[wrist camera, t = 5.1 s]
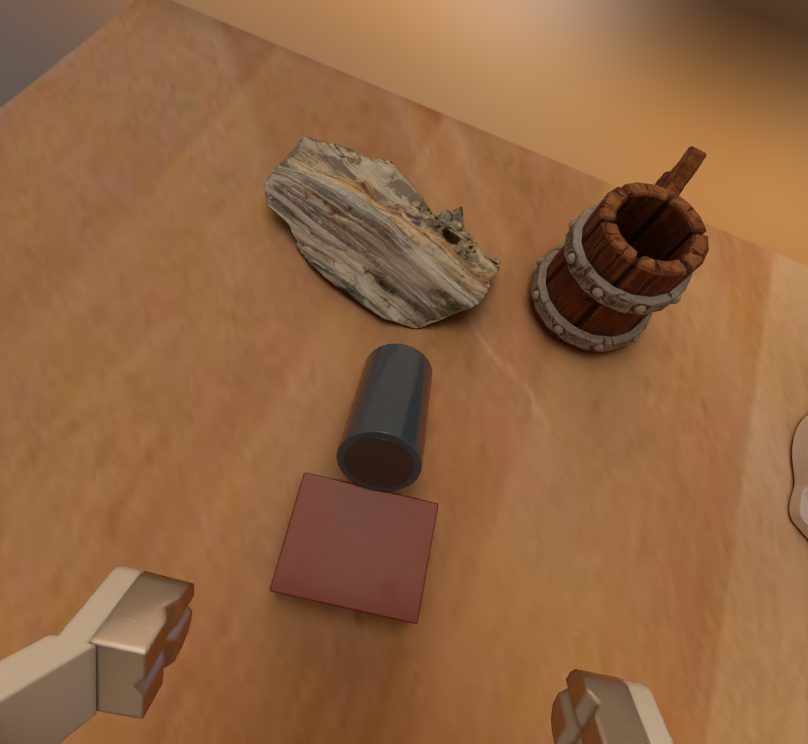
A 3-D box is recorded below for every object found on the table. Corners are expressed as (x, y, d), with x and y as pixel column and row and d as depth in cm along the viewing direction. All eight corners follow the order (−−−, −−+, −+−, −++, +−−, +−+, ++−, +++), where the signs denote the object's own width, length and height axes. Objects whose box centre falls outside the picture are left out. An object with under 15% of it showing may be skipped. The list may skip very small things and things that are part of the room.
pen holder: (423, 404, 40) (411, 500, 32) (359, 389, 40) (331, 481, 32) (439, 352, 37) (431, 445, 29) (370, 335, 36) (342, 423, 28)
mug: (498, 319, 44) (585, 187, 31) (550, 239, 51) (637, 107, 39) (608, 387, 43) (744, 278, 30) (644, 295, 50) (765, 177, 38)
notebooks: (409, 619, 34) (420, 628, 29) (274, 589, 33) (264, 593, 29) (430, 508, 37) (441, 501, 33) (306, 479, 37) (302, 468, 32)
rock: (421, 367, 45) (510, 261, 48) (439, 351, 38) (540, 229, 42) (236, 209, 44) (340, 115, 48) (221, 164, 38) (343, 59, 41)
